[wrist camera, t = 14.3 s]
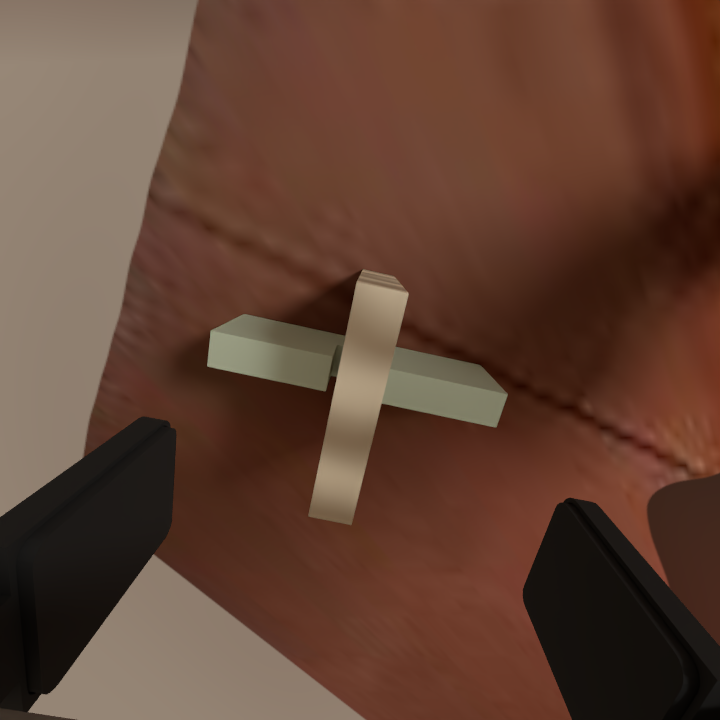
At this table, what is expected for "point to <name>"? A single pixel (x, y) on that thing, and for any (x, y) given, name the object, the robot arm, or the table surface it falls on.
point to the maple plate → (358, 394)
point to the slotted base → (322, 359)
